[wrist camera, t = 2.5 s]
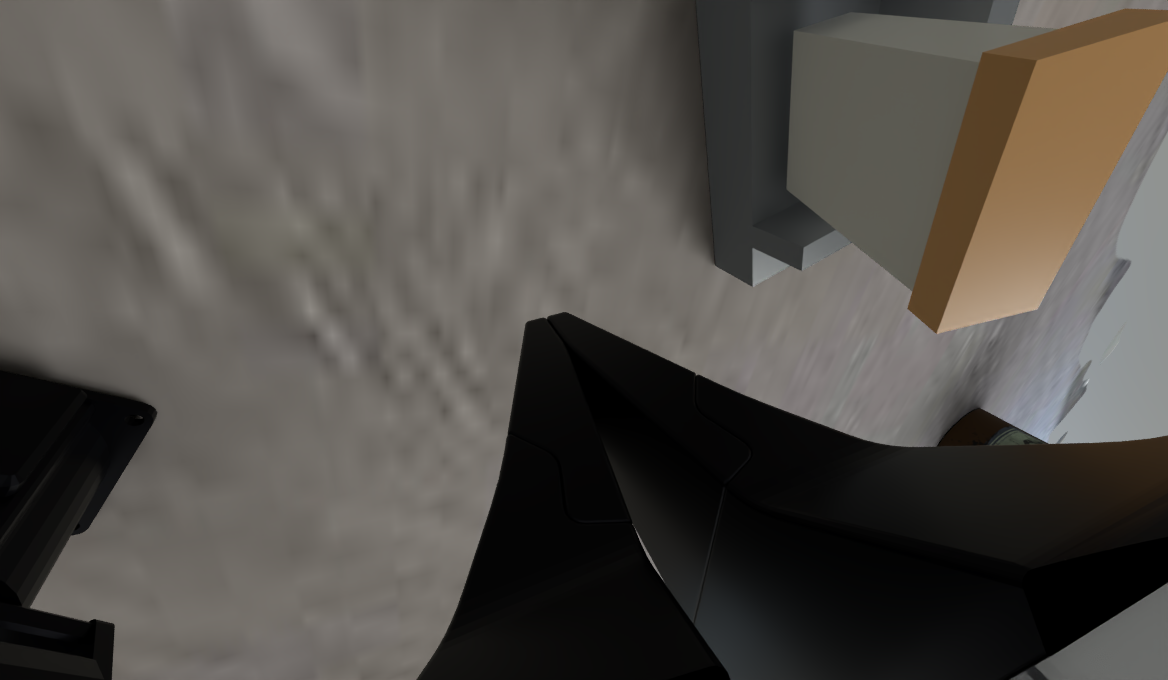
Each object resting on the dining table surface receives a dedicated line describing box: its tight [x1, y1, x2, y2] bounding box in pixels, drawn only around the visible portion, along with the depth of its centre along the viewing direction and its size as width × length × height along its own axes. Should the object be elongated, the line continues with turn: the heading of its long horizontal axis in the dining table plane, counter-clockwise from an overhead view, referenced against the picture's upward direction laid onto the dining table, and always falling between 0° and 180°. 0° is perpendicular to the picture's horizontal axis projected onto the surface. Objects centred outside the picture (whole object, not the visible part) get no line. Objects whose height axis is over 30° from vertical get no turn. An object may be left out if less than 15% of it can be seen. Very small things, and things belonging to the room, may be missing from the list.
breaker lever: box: [786, 9, 1168, 334], centre depth 13 cm, size 3×7×10 cm, turn 17°
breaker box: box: [696, 0, 1020, 287], centre depth 18 cm, size 8×16×7 cm, turn 17°
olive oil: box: [938, 409, 1048, 447], centre depth 57 cm, size 11×11×25 cm
